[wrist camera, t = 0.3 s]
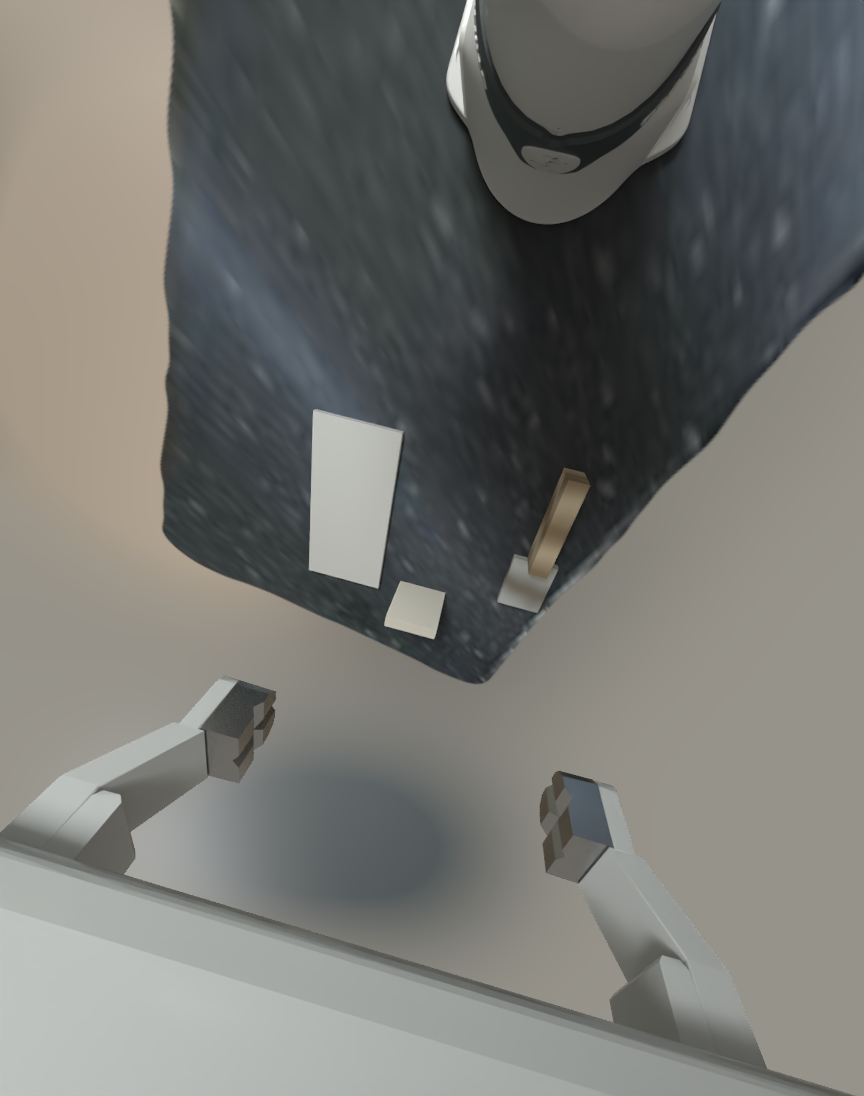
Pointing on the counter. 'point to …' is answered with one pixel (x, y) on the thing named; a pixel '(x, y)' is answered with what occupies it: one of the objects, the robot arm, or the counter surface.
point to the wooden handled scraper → (545, 546)
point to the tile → (415, 610)
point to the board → (351, 496)
